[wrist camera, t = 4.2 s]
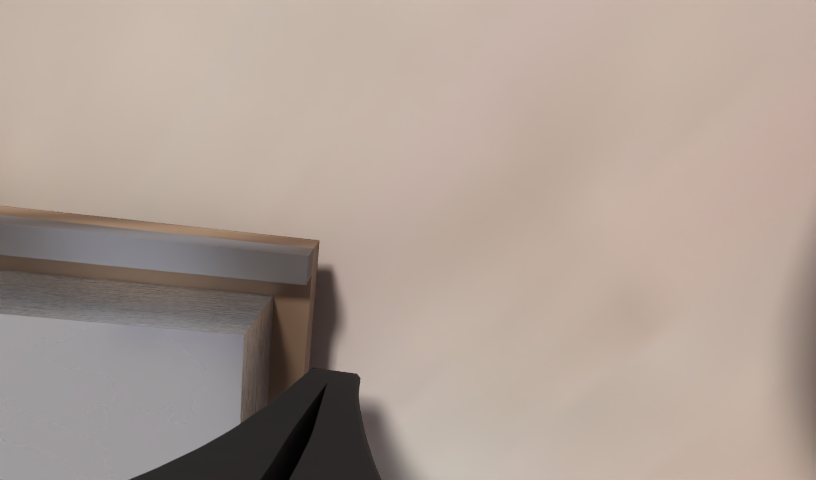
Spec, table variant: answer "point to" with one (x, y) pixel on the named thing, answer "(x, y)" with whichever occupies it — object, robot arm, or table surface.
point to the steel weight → (122, 373)
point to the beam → (177, 267)
